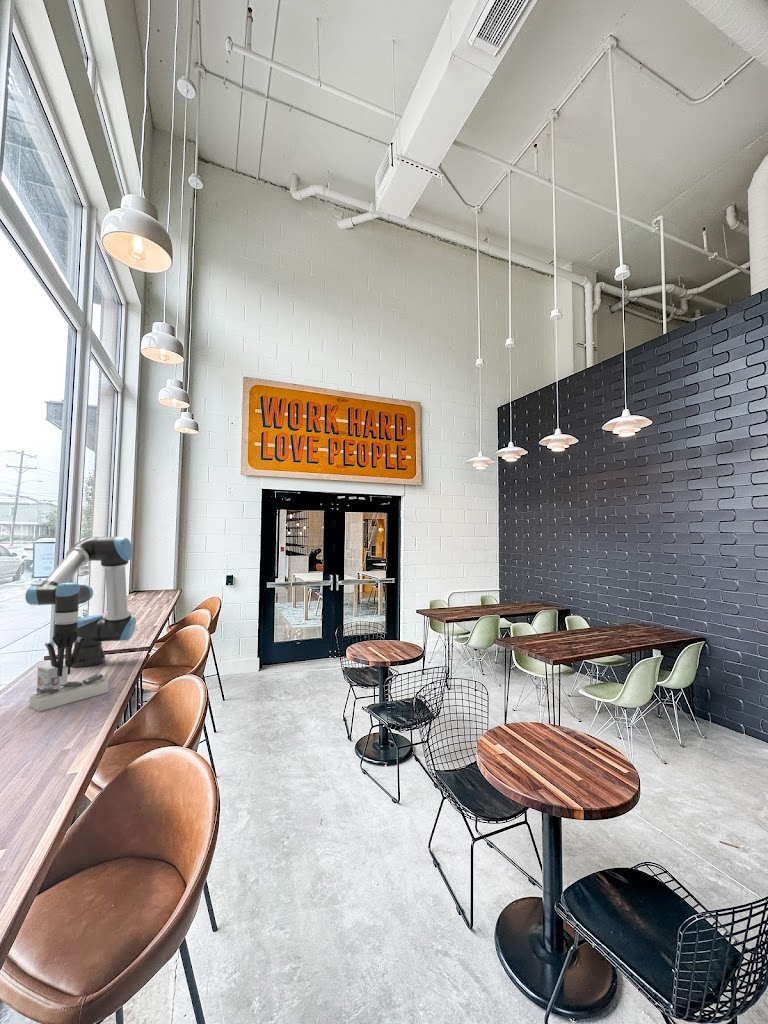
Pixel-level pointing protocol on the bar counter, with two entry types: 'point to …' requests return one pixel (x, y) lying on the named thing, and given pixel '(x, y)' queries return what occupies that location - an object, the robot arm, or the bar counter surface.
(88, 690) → the rocker switch panel
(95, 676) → the rocker
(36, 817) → the bar counter surface
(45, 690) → the rocker
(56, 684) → the ink box
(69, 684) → the rocker
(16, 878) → the bar counter surface
